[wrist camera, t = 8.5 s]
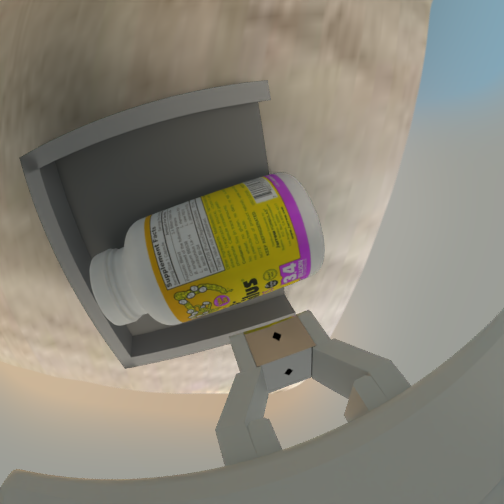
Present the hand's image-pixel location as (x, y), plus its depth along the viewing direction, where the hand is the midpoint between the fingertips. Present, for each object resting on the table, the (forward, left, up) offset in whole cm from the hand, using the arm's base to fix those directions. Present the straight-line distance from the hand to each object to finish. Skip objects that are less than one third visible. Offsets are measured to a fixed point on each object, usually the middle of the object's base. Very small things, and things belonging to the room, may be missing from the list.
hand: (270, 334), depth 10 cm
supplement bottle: (+5, 0, -8) cm, 9 cm away
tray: (-3, 0, -12) cm, 12 cm away
